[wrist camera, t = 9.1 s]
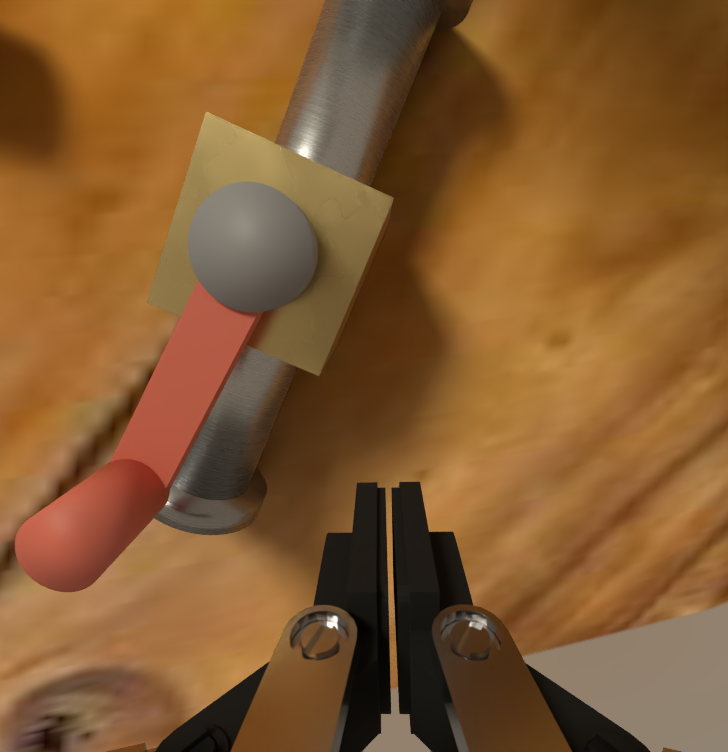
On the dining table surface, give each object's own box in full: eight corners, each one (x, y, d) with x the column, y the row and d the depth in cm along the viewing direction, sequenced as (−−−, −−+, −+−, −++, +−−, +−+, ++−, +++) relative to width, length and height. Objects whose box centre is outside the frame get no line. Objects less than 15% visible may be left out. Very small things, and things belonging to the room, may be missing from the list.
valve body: (334, -42, 20) (306, -241, 12) (472, 25, 21) (529, -126, 13) (165, 444, 26) (73, 517, 18) (276, 489, 26) (232, 579, 19)
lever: (234, 165, 15) (168, 115, 10) (339, 229, 15) (321, 209, 10) (85, 480, 17) (-20, 554, 13) (176, 528, 18) (105, 617, 13)
